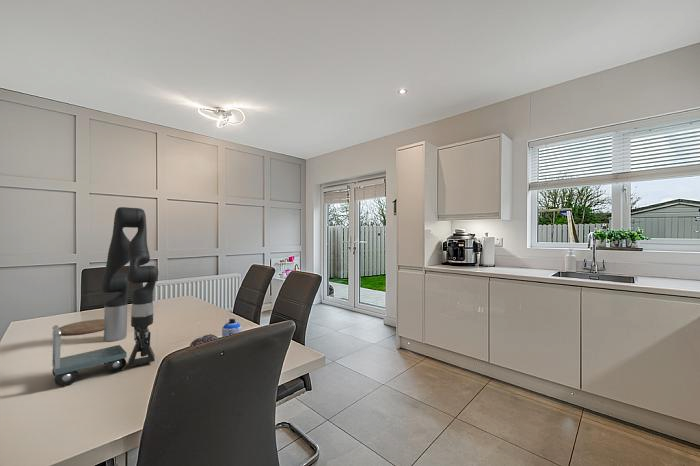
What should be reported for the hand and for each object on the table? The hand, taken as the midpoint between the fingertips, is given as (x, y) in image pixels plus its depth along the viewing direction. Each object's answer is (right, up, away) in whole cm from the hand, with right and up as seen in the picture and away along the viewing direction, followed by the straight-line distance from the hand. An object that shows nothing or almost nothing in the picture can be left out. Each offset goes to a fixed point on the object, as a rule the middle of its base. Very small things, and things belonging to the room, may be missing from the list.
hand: (141, 353), depth 121 cm
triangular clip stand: (0, -3, 0) cm, 3 cm away
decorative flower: (+24, -5, +2) cm, 25 cm away
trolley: (-13, -4, -9) cm, 17 cm away
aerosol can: (+39, -5, -2) cm, 39 cm away
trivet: (-64, -5, +45) cm, 78 cm away
